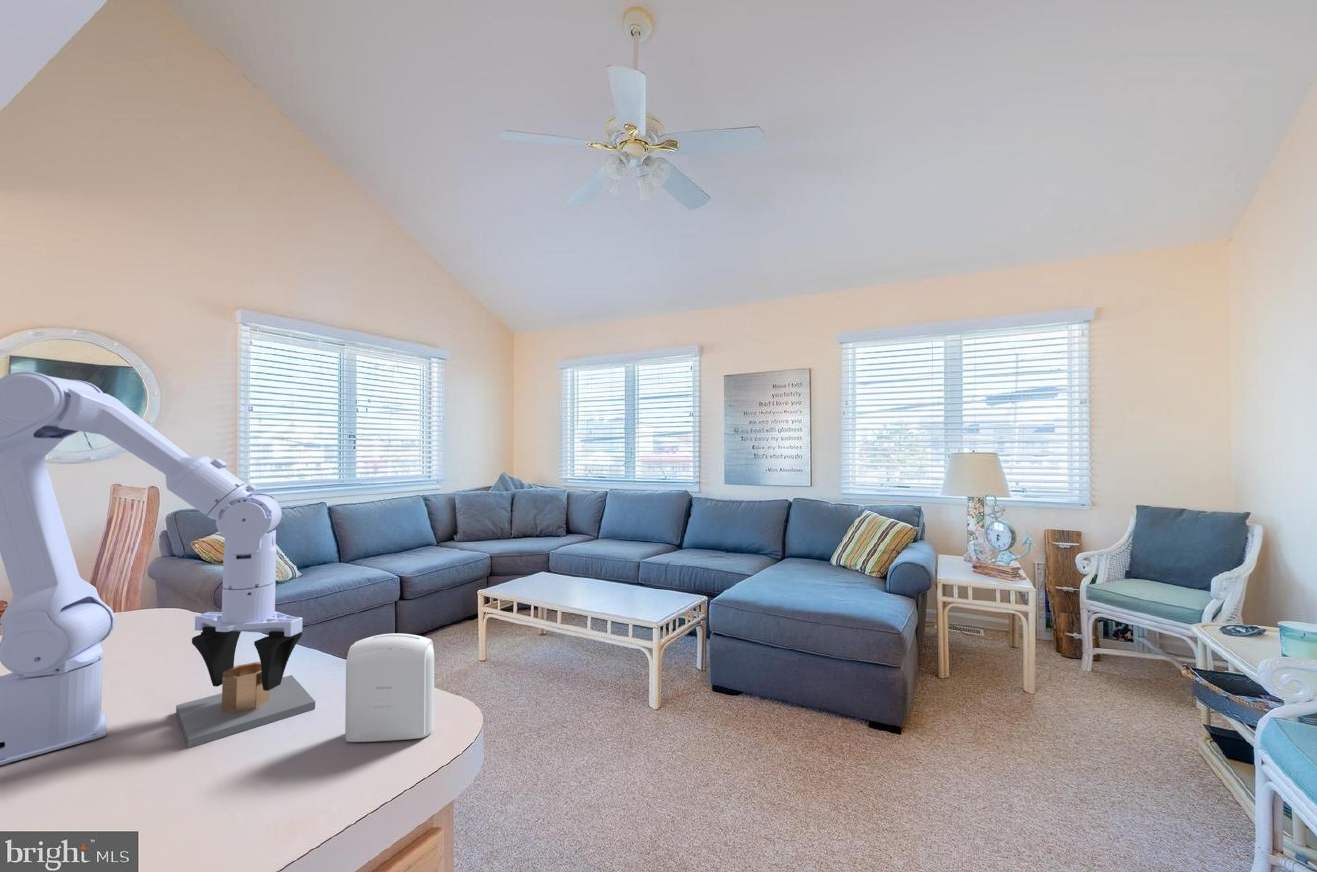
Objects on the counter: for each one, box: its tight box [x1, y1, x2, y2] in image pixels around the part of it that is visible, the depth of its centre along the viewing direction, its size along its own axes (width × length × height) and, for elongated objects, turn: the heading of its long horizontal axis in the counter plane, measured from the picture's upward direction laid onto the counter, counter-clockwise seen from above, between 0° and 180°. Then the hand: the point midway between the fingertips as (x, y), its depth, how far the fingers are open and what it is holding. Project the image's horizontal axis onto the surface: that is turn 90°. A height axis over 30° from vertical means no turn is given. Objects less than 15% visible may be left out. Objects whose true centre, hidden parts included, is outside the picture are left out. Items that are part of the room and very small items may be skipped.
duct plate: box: [175, 674, 316, 749], centre depth 71 cm, size 13×12×4 cm
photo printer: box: [344, 632, 435, 743], centre depth 66 cm, size 10×4×12 cm, turn 96°
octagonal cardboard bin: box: [221, 661, 269, 713], centre depth 71 cm, size 5×5×4 cm
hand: (247, 685), depth 71 cm, fingers open, 7 cm apart
